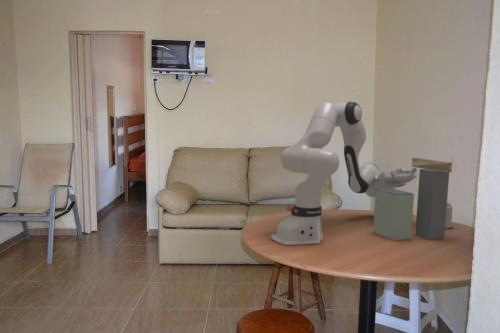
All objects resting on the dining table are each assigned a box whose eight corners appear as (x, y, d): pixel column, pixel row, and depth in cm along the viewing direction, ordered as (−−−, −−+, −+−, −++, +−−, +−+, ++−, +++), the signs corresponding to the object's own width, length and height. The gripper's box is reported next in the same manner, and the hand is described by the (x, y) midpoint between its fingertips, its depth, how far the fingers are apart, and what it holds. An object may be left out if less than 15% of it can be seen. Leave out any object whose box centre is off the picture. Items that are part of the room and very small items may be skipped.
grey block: (395, 240, 190) (398, 194, 187) (373, 232, 202) (375, 189, 200) (411, 238, 193) (414, 193, 191) (388, 230, 206) (391, 188, 203)
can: (453, 229, 210) (455, 204, 209) (437, 229, 211) (439, 204, 209) (446, 225, 218) (448, 201, 216) (431, 225, 218) (433, 201, 217)
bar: (447, 172, 186) (448, 162, 185) (411, 166, 204) (412, 158, 203) (451, 172, 187) (452, 162, 186) (415, 166, 205) (416, 157, 204)
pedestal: (429, 240, 192) (434, 171, 188) (415, 235, 199) (419, 169, 195) (444, 237, 196) (449, 170, 192) (430, 233, 203) (434, 168, 199)
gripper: (370, 175, 216) (389, 164, 204) (402, 173, 224) (422, 162, 213) (374, 187, 214) (393, 176, 202) (406, 185, 222) (426, 175, 211)
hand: (408, 169), depth 207 cm, fingers open, 8 cm apart
